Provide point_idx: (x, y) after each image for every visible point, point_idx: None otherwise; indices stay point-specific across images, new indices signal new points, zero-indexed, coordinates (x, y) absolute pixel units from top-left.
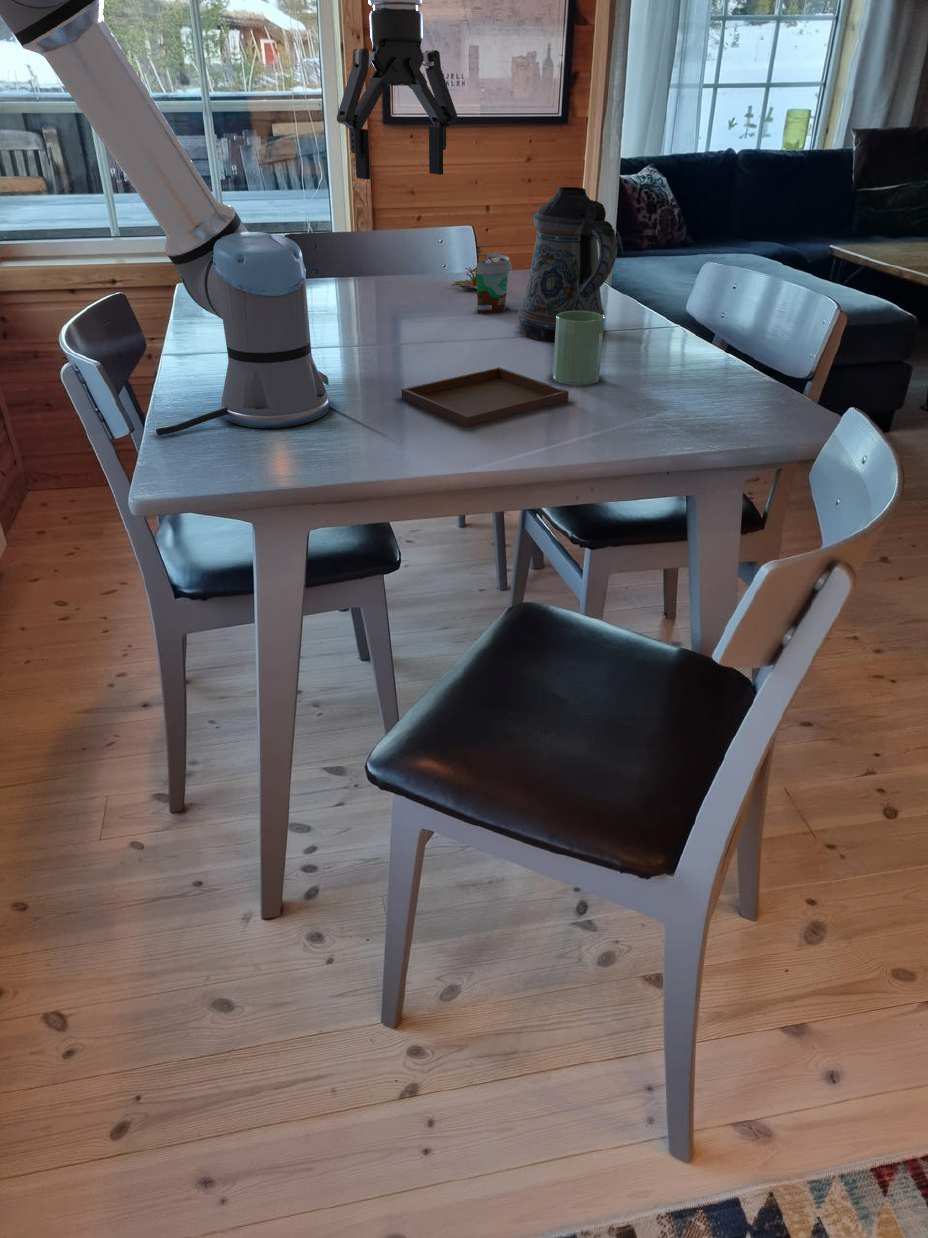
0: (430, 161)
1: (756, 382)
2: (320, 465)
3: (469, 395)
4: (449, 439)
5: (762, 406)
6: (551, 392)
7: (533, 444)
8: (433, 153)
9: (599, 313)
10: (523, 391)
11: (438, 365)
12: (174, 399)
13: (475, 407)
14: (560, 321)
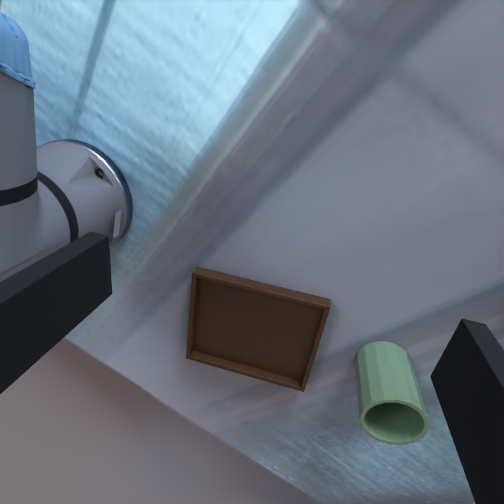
0: (477, 362)
1: None
2: None
3: (253, 311)
4: (166, 350)
5: (406, 492)
6: (304, 372)
7: (206, 396)
8: (479, 415)
9: (423, 435)
10: (301, 343)
11: (327, 210)
12: None
13: (230, 333)
14: (362, 407)
